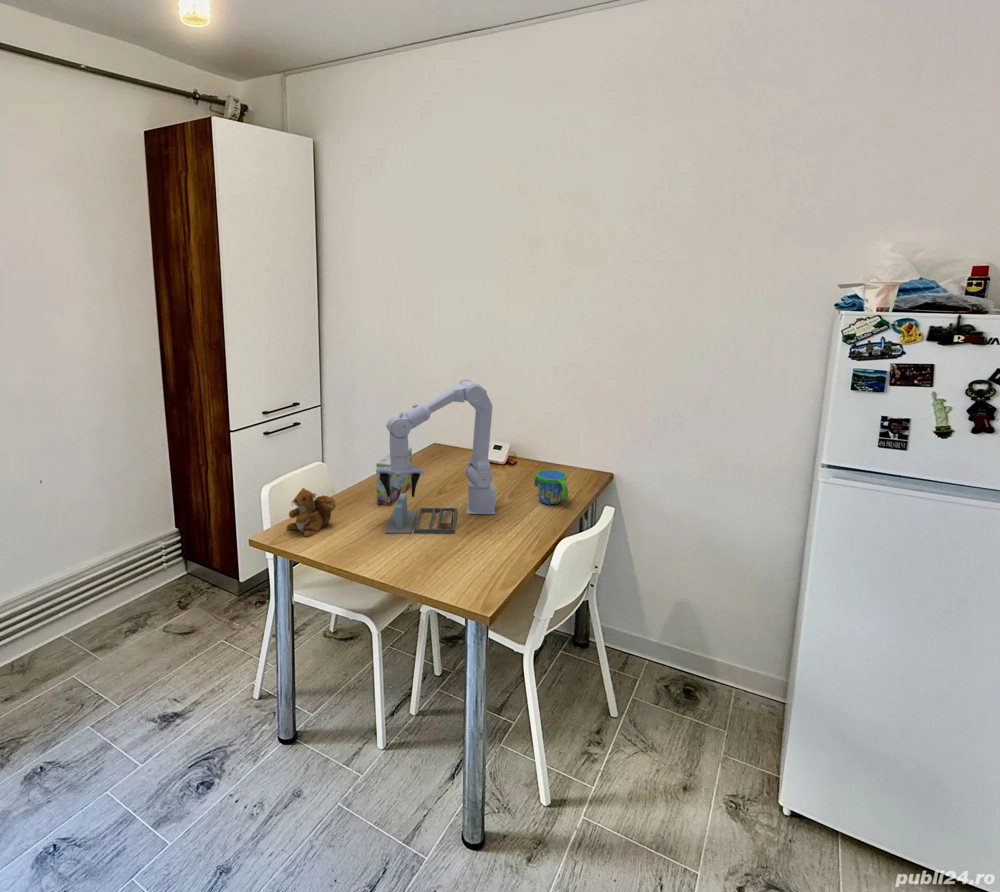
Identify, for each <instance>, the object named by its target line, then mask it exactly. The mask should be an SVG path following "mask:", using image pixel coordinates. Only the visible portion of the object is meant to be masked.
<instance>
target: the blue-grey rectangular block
mask: <svg viewBox="0 0 1000 892" xmlns="http://www.w3.org/2000/svg"><path fill="white" fill-rule="evenodd" d="M407 496H408V494H407V493H406V492H404V493H401V494H400V496H399V498H398V499H397V500H396V501H397V502H396V504H395V507H394V510H395V519H396V528H403V525H404V522H405V519H406V516H407V510H408V497H407Z"/></svg>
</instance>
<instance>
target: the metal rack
mask: <svg viewBox="0 0 1000 892" xmlns="http://www.w3.org/2000/svg"><path fill="white" fill-rule="evenodd" d="M443 511H453V517H452V524H451V529H441V521H442V516H443ZM423 513H431V517H430V520H429V525H428V528H419V526H420V521H421V519H422V514H423ZM436 513H438V518H437V522H436V523H437V524H436V528H433V526H434V521H435V517H436ZM457 515H458V508H457V507H419V509H418V512H417V518H416V519H415V520H416V521H415V523H414V526H413V534H434V535H435V534H437V535H438V534H450V535H452V534H454V535H455V530H456V526H457V525H456V524H457V523H456V522H457Z"/></svg>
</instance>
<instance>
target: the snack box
mask: <svg viewBox="0 0 1000 892" xmlns="http://www.w3.org/2000/svg"><path fill="white" fill-rule="evenodd" d="M408 448H409V466H412V463H413V462H412V460H413V459H412V457H413V455H412V451H413V449H412V447H408ZM388 466H391V464H390V453H389V454H387V455H386V456H384V457H383V458H382V459H380V460H379V461H378V462H377V463H376V468H377V467H388ZM411 476H412V474H390V497H387V493H386V490H385V488H384V485H383V484H382V482H381V481H380V475H376V496H377V497H376V499H377V502H376V504H377V505H382V506H391V505H393V504H394V503H395V502H396V501H398V499H399V496H400V494H401V493H406V492H407V490H409V489H410V488H412V483H411Z"/></svg>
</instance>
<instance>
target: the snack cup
mask: <svg viewBox="0 0 1000 892" xmlns="http://www.w3.org/2000/svg"><path fill="white" fill-rule="evenodd" d="M534 477H535V478H534V481H533V485H534V487H536V488H538V489H537V490H538V499H539V502H540V501H541V503H543V504H546V505H547V504H548V505H550V504H555V505H558V504H560V503H559V502H561V501H562V500H566V499H568V497H569V488H568V484H567V482H566V481H567V478H568V475H567V473H566V472H564V471H561V470H557V469H542V470H539V471H537V472H536V474H535V476H534Z"/></svg>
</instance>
